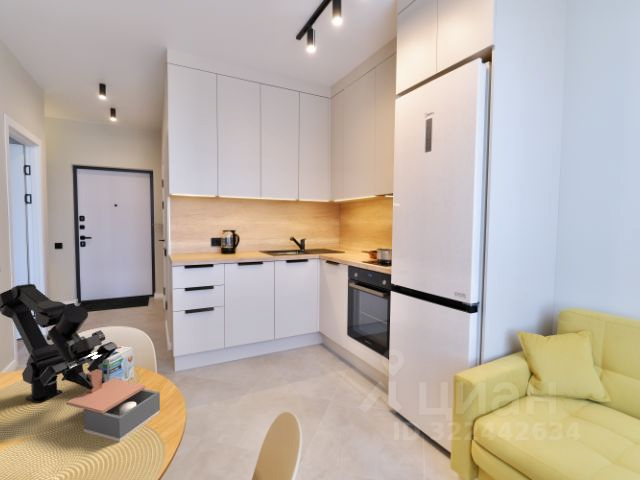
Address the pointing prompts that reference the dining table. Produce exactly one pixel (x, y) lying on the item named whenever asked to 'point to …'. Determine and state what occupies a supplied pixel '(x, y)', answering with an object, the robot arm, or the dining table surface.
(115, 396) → the lid
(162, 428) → the dining table surface
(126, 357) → the light bulb box
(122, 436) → the carton
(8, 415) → the dining table surface
